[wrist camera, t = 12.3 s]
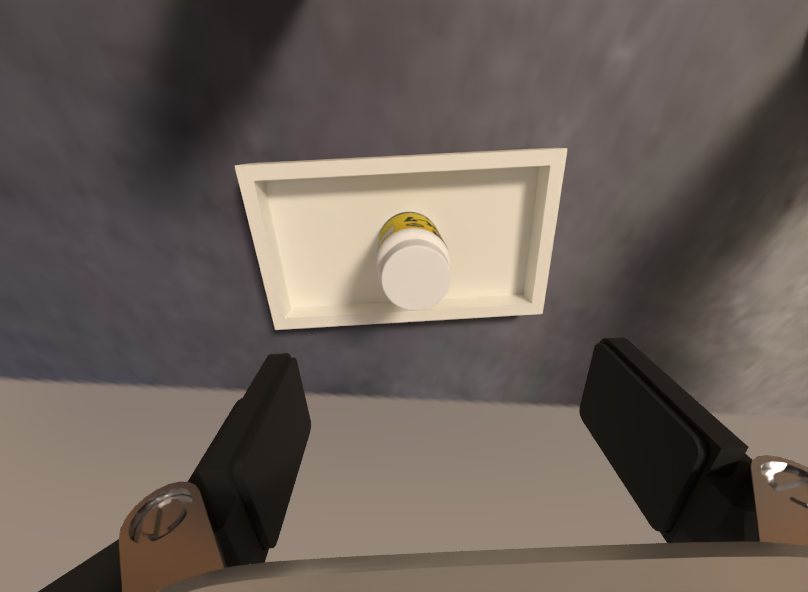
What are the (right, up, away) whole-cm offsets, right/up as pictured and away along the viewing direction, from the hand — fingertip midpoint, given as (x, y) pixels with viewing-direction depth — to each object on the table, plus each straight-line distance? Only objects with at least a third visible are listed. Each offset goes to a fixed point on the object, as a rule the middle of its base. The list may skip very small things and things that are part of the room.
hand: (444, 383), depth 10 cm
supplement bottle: (-1, +7, +16) cm, 17 cm away
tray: (-1, +7, +16) cm, 18 cm away
